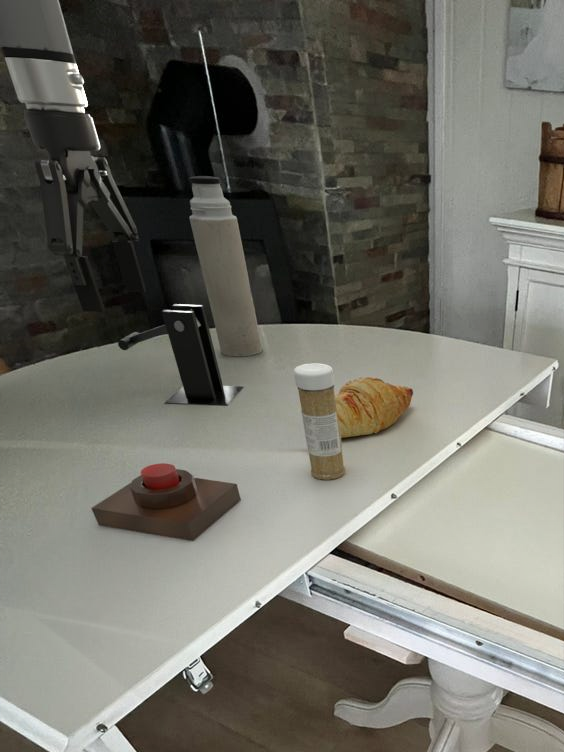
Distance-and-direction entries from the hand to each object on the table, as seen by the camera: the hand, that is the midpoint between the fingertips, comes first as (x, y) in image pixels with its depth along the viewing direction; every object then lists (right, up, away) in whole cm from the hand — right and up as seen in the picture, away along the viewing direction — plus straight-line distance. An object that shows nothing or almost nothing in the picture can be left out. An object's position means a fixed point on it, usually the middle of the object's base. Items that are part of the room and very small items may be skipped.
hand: (116, 300), depth 87 cm
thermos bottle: (+6, +8, +32) cm, 34 cm away
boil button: (+18, -33, -20) cm, 43 cm away
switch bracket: (+9, -11, +10) cm, 17 cm away
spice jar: (+34, -29, -9) cm, 45 cm away
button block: (+18, -36, -18) cm, 44 cm away
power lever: (+5, -4, +3) cm, 7 cm away
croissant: (+36, -17, +5) cm, 40 cm away
